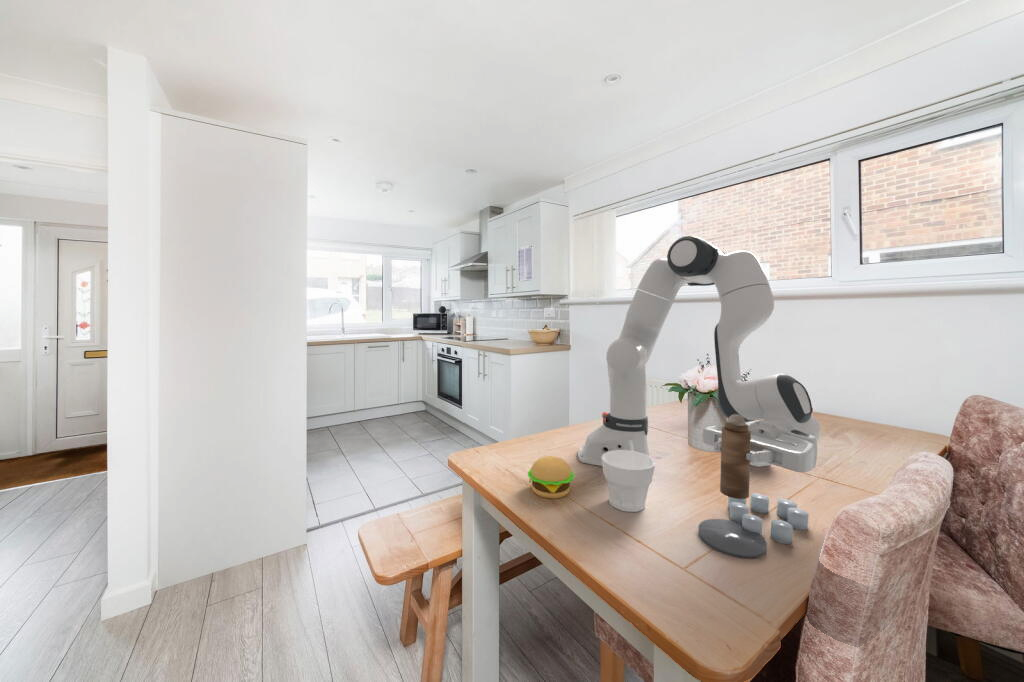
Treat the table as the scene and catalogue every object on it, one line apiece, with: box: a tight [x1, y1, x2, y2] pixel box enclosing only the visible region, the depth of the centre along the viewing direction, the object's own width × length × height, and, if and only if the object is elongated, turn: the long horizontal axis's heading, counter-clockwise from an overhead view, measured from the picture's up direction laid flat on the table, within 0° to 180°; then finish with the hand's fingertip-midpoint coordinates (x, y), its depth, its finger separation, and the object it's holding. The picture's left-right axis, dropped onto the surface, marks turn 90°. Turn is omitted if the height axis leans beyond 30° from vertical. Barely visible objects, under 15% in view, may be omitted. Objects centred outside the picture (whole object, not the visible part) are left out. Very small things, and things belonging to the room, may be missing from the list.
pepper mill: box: [719, 414, 751, 500], centre depth 75 cm, size 5×5×16 cm
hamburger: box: [527, 455, 575, 499], centre depth 98 cm, size 12×12×9 cm
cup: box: [601, 450, 656, 513], centre depth 91 cm, size 12×12×11 cm
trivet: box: [697, 518, 768, 559], centre depth 77 cm, size 12×12×1 cm
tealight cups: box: [727, 492, 809, 545], centre depth 83 cm, size 15×16×3 cm
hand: (733, 452), depth 75 cm, fingers closed on pepper mill, 5 cm apart
